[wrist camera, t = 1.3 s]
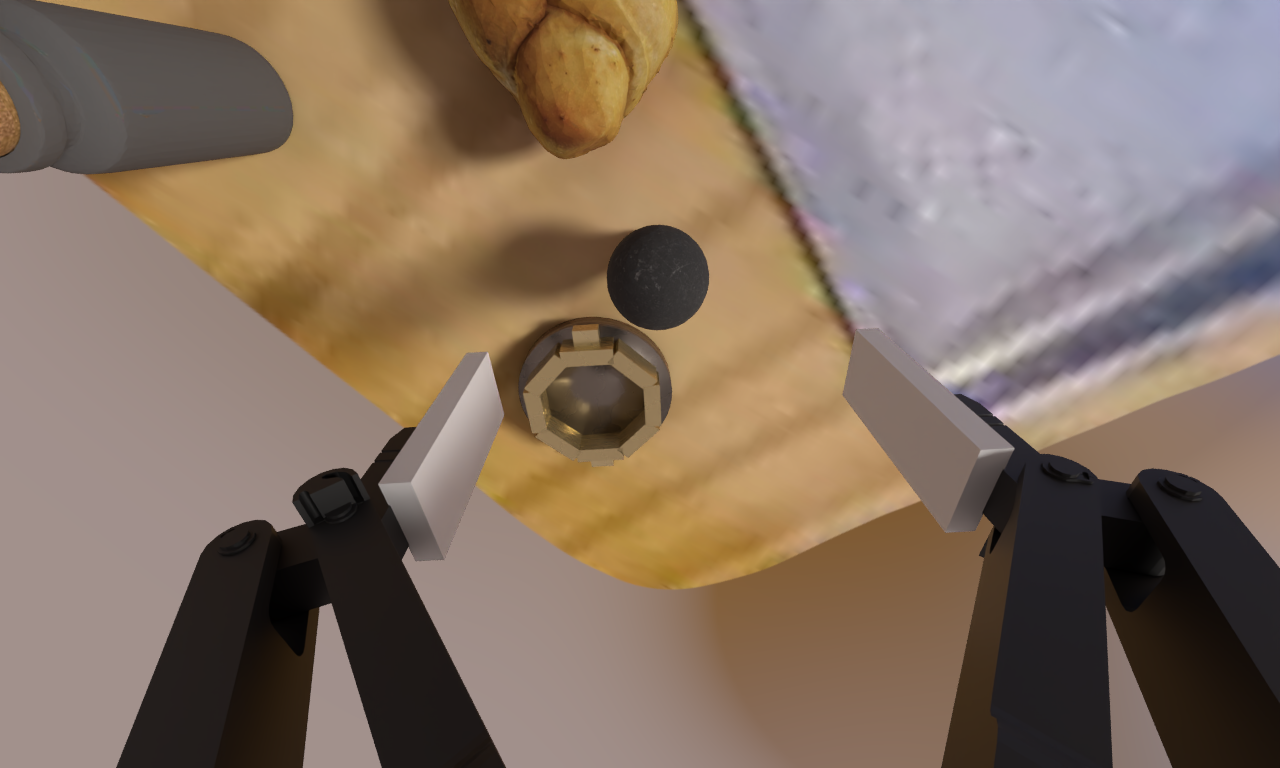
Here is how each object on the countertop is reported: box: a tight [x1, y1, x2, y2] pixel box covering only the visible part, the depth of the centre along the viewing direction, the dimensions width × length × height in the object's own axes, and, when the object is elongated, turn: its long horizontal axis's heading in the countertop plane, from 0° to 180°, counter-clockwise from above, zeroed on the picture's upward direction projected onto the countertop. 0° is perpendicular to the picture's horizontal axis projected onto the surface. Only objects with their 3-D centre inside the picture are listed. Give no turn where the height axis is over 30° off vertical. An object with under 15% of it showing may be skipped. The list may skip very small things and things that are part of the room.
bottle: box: [0, 0, 293, 174], centre depth 20 cm, size 6×6×15 cm
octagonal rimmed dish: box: [519, 317, 672, 467], centre depth 35 cm, size 12×12×4 cm
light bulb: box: [607, 225, 709, 330], centre depth 27 cm, size 6×6×10 cm
